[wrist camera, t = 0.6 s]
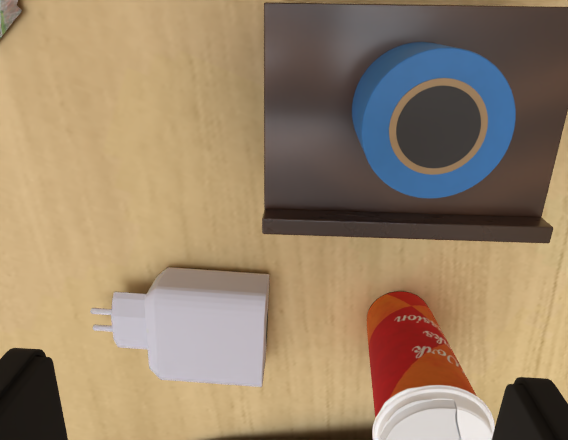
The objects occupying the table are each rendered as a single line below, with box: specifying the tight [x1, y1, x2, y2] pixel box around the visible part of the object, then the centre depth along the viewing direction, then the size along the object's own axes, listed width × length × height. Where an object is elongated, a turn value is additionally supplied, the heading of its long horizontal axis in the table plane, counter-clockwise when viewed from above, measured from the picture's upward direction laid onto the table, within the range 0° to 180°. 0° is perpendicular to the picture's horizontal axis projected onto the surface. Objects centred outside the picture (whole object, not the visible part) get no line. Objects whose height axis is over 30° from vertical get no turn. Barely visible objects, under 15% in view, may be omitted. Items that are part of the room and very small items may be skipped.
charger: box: [91, 267, 269, 387], centre depth 41 cm, size 5×9×15 cm
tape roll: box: [352, 42, 516, 198], centre depth 23 cm, size 7×7×5 cm
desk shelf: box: [262, 3, 568, 243], centre depth 30 cm, size 12×16×12 cm
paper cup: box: [367, 291, 494, 440], centre depth 36 cm, size 8×8×14 cm
